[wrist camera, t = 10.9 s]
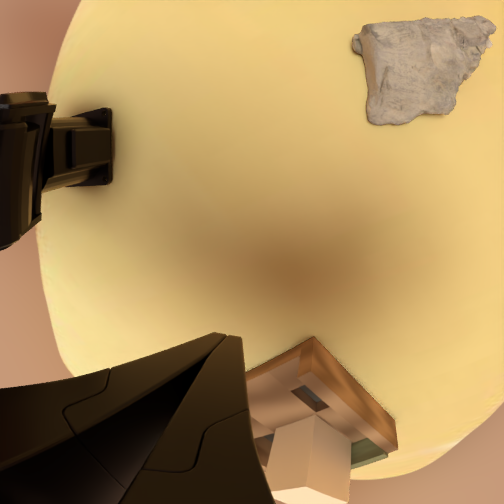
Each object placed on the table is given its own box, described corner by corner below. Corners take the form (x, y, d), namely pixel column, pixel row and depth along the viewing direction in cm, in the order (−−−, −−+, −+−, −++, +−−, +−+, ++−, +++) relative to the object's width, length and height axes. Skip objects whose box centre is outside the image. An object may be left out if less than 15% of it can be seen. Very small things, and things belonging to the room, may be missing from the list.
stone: (501, 103, 11) (533, 98, 7) (373, 134, 15) (391, 128, 11) (466, 27, 10) (490, 9, 6) (331, 47, 14) (336, 20, 10)
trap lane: (198, 394, 27) (182, 424, 23) (313, 336, 21) (310, 376, 17) (288, 457, 29) (282, 484, 25) (394, 420, 23) (398, 453, 19)
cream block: (275, 428, 24) (259, 492, 17) (315, 414, 22) (305, 486, 15) (314, 453, 25) (305, 510, 18) (351, 440, 23) (348, 502, 16)
